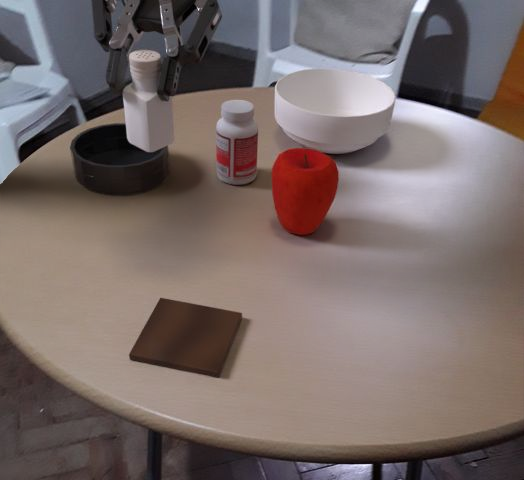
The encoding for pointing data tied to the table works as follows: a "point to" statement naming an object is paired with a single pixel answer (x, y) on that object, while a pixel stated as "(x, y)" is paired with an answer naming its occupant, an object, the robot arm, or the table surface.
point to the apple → (303, 188)
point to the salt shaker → (147, 104)
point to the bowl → (333, 109)
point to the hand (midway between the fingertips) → (139, 93)
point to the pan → (116, 162)
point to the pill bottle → (237, 143)
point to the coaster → (187, 337)
